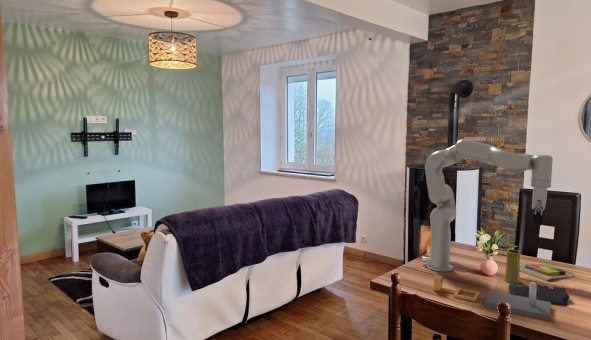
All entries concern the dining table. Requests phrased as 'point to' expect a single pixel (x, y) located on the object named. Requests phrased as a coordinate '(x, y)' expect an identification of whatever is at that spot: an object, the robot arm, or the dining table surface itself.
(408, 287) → the dining table surface
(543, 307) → the keeper board
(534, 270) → the wooden puzzle
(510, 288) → the dark slate chunk
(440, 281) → the link
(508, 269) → the vase
